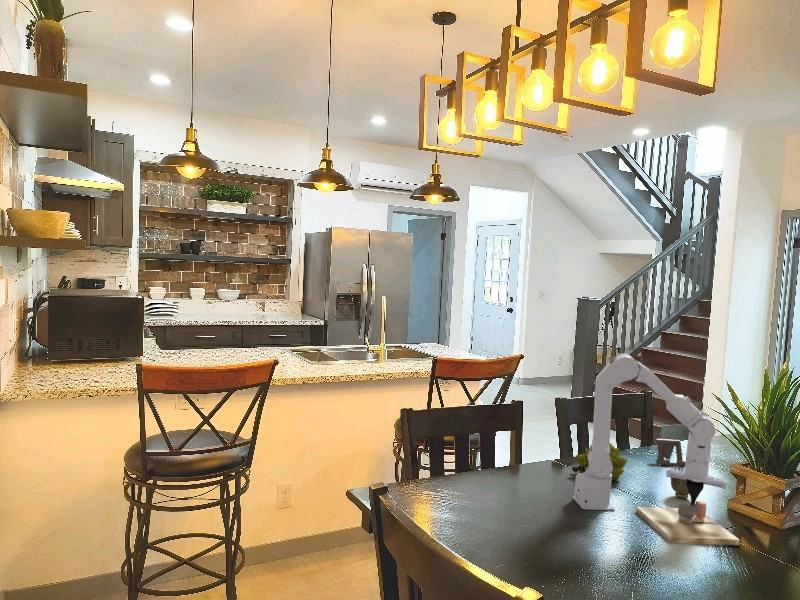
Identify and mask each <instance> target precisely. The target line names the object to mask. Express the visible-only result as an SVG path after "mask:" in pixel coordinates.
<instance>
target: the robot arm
mask: <svg viewBox="0 0 800 600" xmlns="http://www.w3.org/2000/svg"><path fill="white" fill-rule="evenodd" d="M633 379H634V381H635V382H638V383H644V384H646V385H647V386H648V387H649V388H650V389H652V390H653V391H654V392H655V393H656V394H657V395H658V396H659V397H660V398H661V399H663V400H664V401H665V404H666V410H667V411H668V412H669V413H670V414H671V415H673V416H674V417H675V418H676V419H677V420H678V421H679V422H680V423H681V424H682V425H683V426H685V427H686V428H687V430H688V431H689V432H688V439H687V444H686V455H685V467H684V470H678V469H676V470H675V468H673V469H671V468H669V467H668V468H666V473H665V475H666V476H665V477H666V478H671V477H673V478H678V479H683V480H687V481H686V485H687V488H688V491H689V494H688V495H689V497H690V503H689V505H694V504H696V500H697V498H699V495H700V493H702V491H703V490H704V487H705V485H706V486H711V487H716V488H720V489H722V490H727V488H726V487H727V479H726V480H725V479H722V478H717V477H715V476H711V475H709V471H710V470H709V469H710V468H709V467H710V460H711V450H712V449H711V448H712V439H713V438H714V437H715V435H716V433H717V430H716V429H715V425H714V423H713V422H712V421H711V420H710V419H709V418H708V417H707V415H706V414H705V412H704V411H703V410H702V409H701V410H700V409H698V408H697V407H696V406H695V405H694V404H693V403H692V402H691V401H692V399H691V398H689V396H688V395H687V396H685V395H683V394H676V393H674V392H673V391H672V390H671V389H670V388H668V386H667V385H666V384H665V383H664V382H662V380H661V379H660V378H659V377H658V376H656V374H655V373H653V372H652V371H651V369H649V368H648V367H647V366H645V365H644V364H642V363H641V362H640V361H638V360H635V358H634V357H633V356H632V355H630V354H629V353H624V352H623V353H618V354H616V355H614V356H613V357H611V358H610V359H608V362H607V363H606V365H605V366H604V367H603V368H602V370H601V371H600V372H599V373H598V374H597V376H596V378H595V385H594V386H595V387H594V388H595V389H594V403H593V404H594V409H593V425H592V426H593V427H592V440H591V449H590V451H589V452H588V456H587V458H588V461H589V467H588V468H587V469H586V471H585V472H584V473H580V472H579V473H577V474H576V475H575V480H574V489H573V490H574V491H573V496H572V499H573V500H574V501H575V502H576V503H577V505H578V506H579V507H580V508H581V509H582V510H594V511H597V510H598V511H599V510H600V511H615V510H616V508H615V507H614V506H613V505H612V504H611V503H610V502H611V501H610V500H611V491H612V481H613V480H612V474H611V472H612V469H613V466H612V463H611V461H610V445H609V443H611V441H610V439H611V437H610V436H611V424H612V423H611V421H612V420H611V419H612V406H613V405H612V403H613V390H614V388H615V387H617V386H619V385H620V384H622V383H625V382H628V381H632V380H633Z"/></svg>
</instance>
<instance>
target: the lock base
mask: <svg viewBox="0 0 800 600" xmlns="http://www.w3.org/2000/svg"><path fill="white" fill-rule="evenodd" d="M636 513H637V514H638V516H640V518H642V519H643V520H644V521H646V523H648V525H650V526H651V528H653V530H655V531H657V532H658V533H659V534H660V535H661V536H662V537H663V538H664V539H665V540H666V541H667V542H668V541H669V542H668V543H670V544H685V543H688V544H691V545H712V546H713V545H715V546H716V545H718V546H740V539H739V538H738V537H737V536H736V535H734V534H733V533H731V532H730V531H729V530H727V529H726V528H725V527H723V526H722V525H721V524H720V523H718V522H716V521H715V519H712V518H710V516H709V515H707V514H705V518H699V517H696V516H694V517H692V518H689V517H684V516H682V515H680V514H678V507H677V508H674V507H672V508H671V507H652V506H649V507H647V506H646V507H645V506H636Z"/></svg>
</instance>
